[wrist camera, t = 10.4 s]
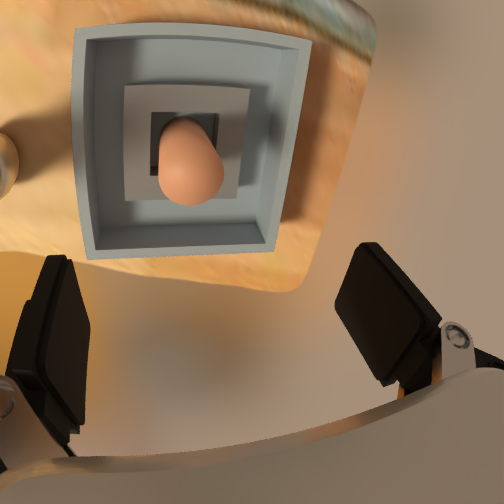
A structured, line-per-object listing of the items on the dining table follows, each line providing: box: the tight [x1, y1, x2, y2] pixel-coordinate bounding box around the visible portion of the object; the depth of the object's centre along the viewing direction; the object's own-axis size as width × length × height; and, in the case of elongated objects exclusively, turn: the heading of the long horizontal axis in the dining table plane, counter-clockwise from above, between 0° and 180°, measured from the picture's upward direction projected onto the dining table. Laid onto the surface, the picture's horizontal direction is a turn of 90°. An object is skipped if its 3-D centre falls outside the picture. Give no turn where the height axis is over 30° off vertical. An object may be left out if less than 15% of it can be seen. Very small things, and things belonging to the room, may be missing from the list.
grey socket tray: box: [71, 22, 312, 260], centre depth 25 cm, size 20×18×5 cm
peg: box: [158, 116, 224, 206], centre depth 22 cm, size 4×4×10 cm
